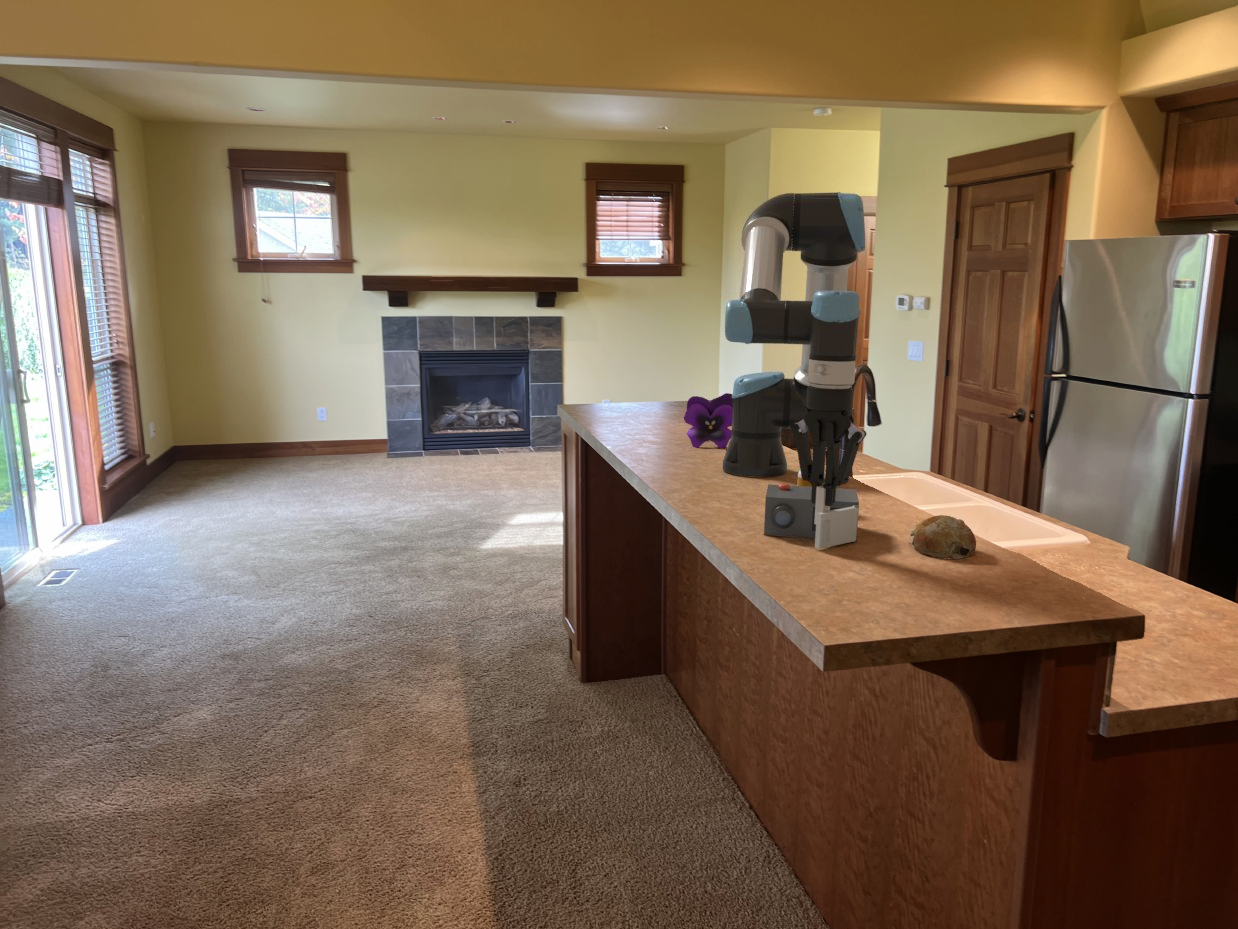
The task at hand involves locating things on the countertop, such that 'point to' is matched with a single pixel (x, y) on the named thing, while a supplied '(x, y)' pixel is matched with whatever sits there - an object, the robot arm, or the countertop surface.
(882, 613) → the countertop surface
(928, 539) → the bread roll
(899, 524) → the countertop surface
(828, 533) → the side door
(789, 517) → the box with round dial
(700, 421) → the flower
